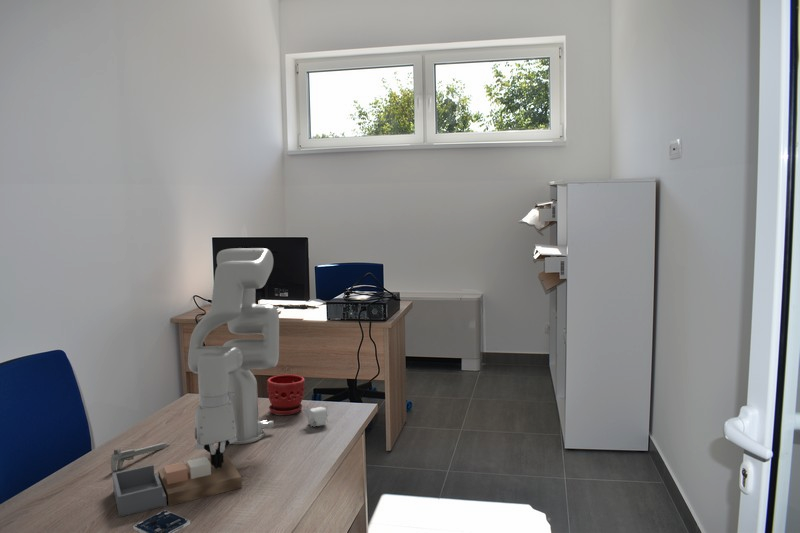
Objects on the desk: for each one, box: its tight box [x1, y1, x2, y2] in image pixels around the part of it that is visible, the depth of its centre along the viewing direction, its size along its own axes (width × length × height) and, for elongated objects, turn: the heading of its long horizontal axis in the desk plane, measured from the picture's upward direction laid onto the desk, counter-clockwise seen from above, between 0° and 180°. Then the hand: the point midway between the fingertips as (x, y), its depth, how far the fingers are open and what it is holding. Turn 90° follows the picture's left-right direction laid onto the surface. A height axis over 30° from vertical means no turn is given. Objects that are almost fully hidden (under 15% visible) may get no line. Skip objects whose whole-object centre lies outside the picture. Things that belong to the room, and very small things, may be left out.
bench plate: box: [157, 454, 243, 506], centre depth 157 cm, size 18×16×3 cm
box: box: [112, 463, 168, 518], centre depth 149 cm, size 11×15×5 cm
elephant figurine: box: [303, 402, 329, 427], centre depth 198 cm, size 8×10×7 cm
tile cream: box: [186, 456, 211, 479], centre depth 157 cm, size 5×5×3 cm
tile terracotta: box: [163, 461, 188, 485], centre depth 154 cm, size 5×5×3 cm
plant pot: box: [266, 374, 306, 416], centre depth 212 cm, size 13×13×12 cm
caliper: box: [110, 442, 170, 473], centre depth 174 cm, size 21×1×6 cm, turn 157°
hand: (217, 466), depth 159 cm, fingers closed
